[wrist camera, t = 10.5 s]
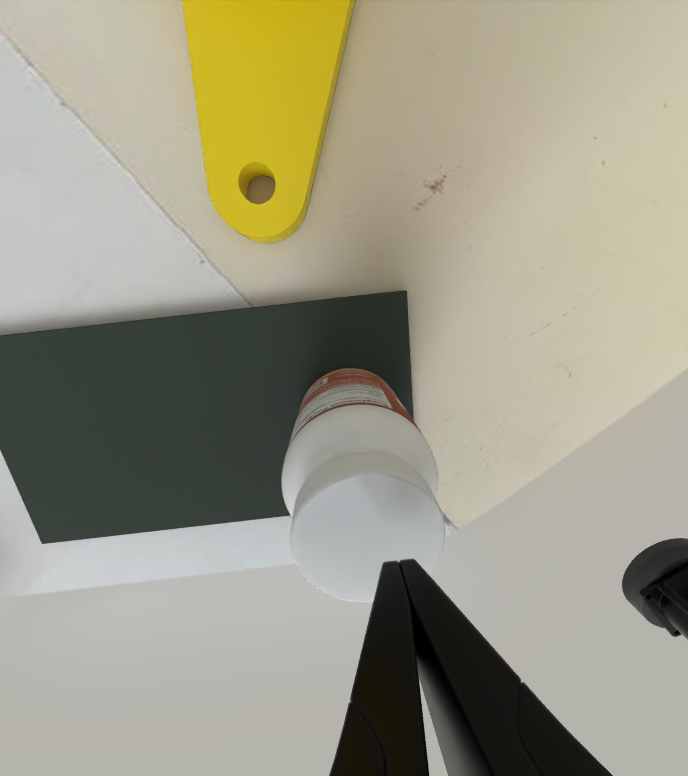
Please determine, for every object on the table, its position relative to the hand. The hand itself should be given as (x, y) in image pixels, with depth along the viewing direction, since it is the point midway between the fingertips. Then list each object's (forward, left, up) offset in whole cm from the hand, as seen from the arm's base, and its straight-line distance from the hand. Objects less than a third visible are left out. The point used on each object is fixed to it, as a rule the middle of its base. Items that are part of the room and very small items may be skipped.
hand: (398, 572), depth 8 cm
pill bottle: (0, +1, -12) cm, 12 cm away
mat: (+6, +8, -13) cm, 16 cm away
